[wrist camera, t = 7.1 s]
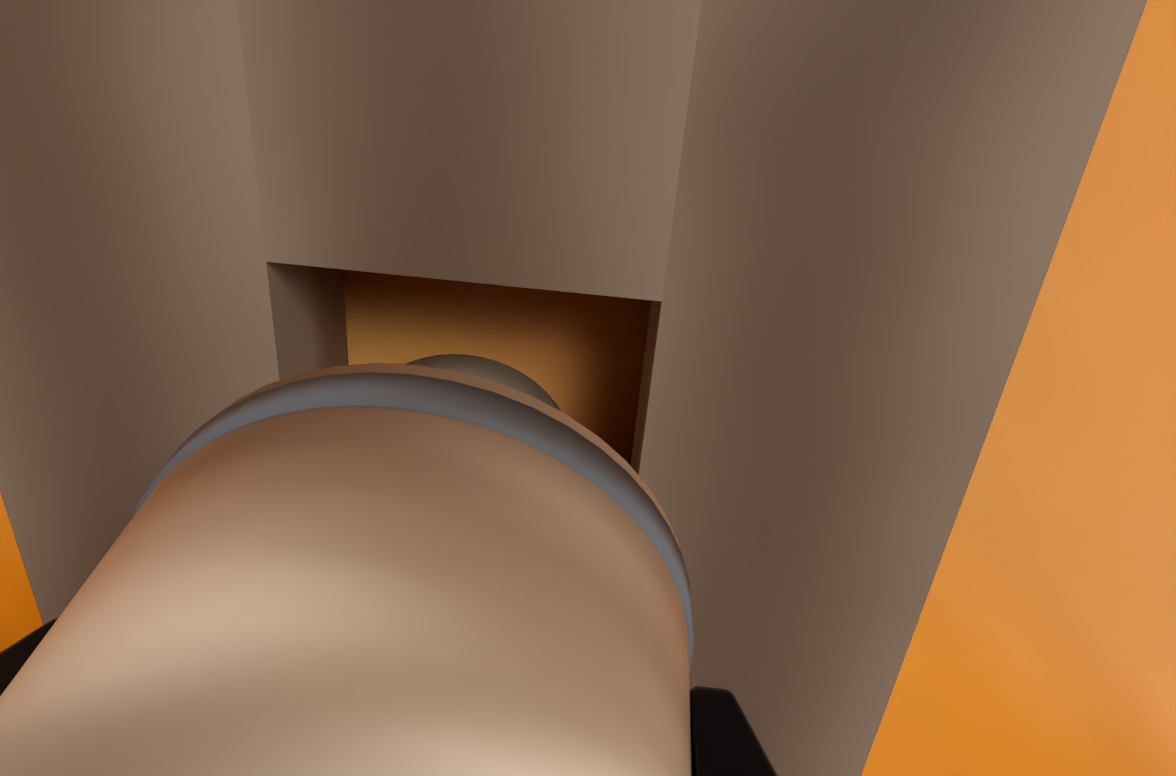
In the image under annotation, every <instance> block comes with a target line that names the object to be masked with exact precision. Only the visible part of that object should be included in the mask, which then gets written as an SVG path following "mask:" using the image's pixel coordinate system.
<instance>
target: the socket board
mask: <svg viewBox="0 0 1176 776" xmlns="http://www.w3.org/2000/svg"><path fill="white" fill-rule="evenodd" d="M1146 2H1147V0H0V492H1V495H2V498H3V501H4V505H5V508H6V511H7V514H8V517H9V520H10V523H11V526H12V529H13V532H14V535H15V539H16V542H17V545H18V548H19V551H20V554H21V557H22V560H23V563H24V566H25V570H26V573H27V576H28V579H29V582H30V585H31V588H32V591H33V594H34V597H35V600H36V604H37V607H38V610H39V613H40V616H41V619H42V622H43V625H44V624H45V623H47V622H49V621H51V620H53V619H56V618H59V617H60V615H61V614H62V612H63V611H64V610H65V608H66V607H67V606H68V604H69V603H70V602H71V600H72V599H73V598H74V596H75V595H76V594H77V592H78V591H79V590H80V588H81V587H82V585H83V584H84V583H85V581H86V580H87V579H88V577H89V576H90V575H91V573H92V572H93V571H94V569H95V568H96V567H97V565H98V564H99V563H100V561H101V560H102V558H103V557H104V556H105V554H106V553H107V552H108V550H109V549H110V548H111V546H112V545H113V544H114V542H115V541H116V540H117V538H118V537H119V536H120V534H121V533H122V531H123V530H124V529H125V527H126V526H127V525H128V523H129V522H130V520H131V518H132V516H133V513H134V511H135V509H136V506H137V504H138V503H139V501H140V500H141V498H142V497H143V495H144V494H145V492H146V491H147V489H148V488H149V487H150V485H151V484H152V482H153V481H154V479H155V478H156V477H157V475H158V474H159V473H160V471H161V470H162V469H163V467H164V466H165V465H166V463H167V462H168V461H169V459H170V458H171V457H172V455H173V454H174V453H175V451H176V450H177V449H178V448H179V447H180V446H181V445H182V444H183V443H184V442H185V441H186V440H187V439H188V438H189V437H190V436H191V435H192V434H193V433H194V432H195V431H196V430H197V429H198V428H199V427H200V426H202V425H203V424H205V423H206V422H207V421H209V420H210V419H211V418H212V417H214V416H215V415H217V414H218V413H219V412H221V411H222V410H224V409H225V408H226V407H228V406H229V405H231V404H232V403H233V402H235V401H236V400H238V399H240V398H242V397H243V396H245V395H247V394H249V393H251V392H253V391H255V390H257V389H259V388H261V387H263V386H265V385H267V384H270V383H273V382H276V381H279V380H282V379H285V378H288V377H291V376H294V375H297V374H300V373H304V372H310V371H315V370H320V369H325V368H330V367H335V366H345V365H348V352H347V337H346V322H345V307H344V292H343V278H342V269H344V270H354V271H364V272H374V273H384V274H394V275H404V276H414V277H424V278H434V279H444V280H454V281H463V282H473V283H483V284H493V285H503V286H513V287H523V288H533V289H543V290H553V291H563V292H573V293H583V294H593V295H603V296H613V297H623V298H633V299H643V300H651V304H650V312H649V320H648V328H647V336H646V344H645V352H644V360H643V368H642V376H641V384H640V392H639V399H638V407H637V415H636V423H635V431H634V439H633V447H632V455H631V463H630V466H631V467H632V468H633V469H634V471H635V472H636V473H637V474H638V475H639V476H640V478H641V479H642V480H643V481H644V482H645V483H646V484H647V486H648V487H649V488H650V490H651V492H652V493H653V495H654V496H655V498H656V499H657V501H658V502H659V504H660V505H661V507H662V509H663V510H664V512H665V513H666V515H667V518H668V520H669V522H670V524H671V527H672V529H673V531H674V533H675V535H676V538H677V540H678V543H679V547H680V551H681V553H682V555H683V559H684V562H685V566H686V570H687V574H688V578H689V581H690V588H691V600H692V615H693V645H694V646H693V656H692V665H691V673H690V690H691V689H692V688H693V687H696V686H703V687H712V688H721V689H726V690H729V691H730V692H732V693H733V695H734V696H735V698H736V699H737V701H738V703H739V705H740V707H741V709H742V710H743V712H744V714H745V716H746V718H747V720H748V721H749V723H750V725H751V727H752V729H753V731H754V732H755V734H756V736H757V738H758V740H759V742H760V743H761V745H762V747H763V749H764V751H765V753H766V755H767V756H768V758H769V760H770V762H771V764H772V766H773V767H774V769H775V771H776V773H777V775H778V776H861V774H862V771H863V768H864V766H865V763H866V760H867V757H868V755H869V752H870V749H871V747H872V744H873V741H874V738H875V736H876V733H877V730H878V728H879V725H880V722H881V720H882V717H883V714H884V711H885V709H886V706H887V703H888V701H889V698H890V695H891V692H892V690H893V687H894V684H895V682H896V679H897V676H898V674H899V671H900V668H901V665H902V663H903V660H904V657H905V655H906V652H907V649H908V646H909V644H910V641H911V638H912V636H913V633H914V630H915V628H916V625H917V622H918V619H919V617H920V614H921V611H922V609H923V606H924V603H925V600H926V598H927V595H928V592H929V590H930V587H931V584H932V581H933V579H934V576H935V573H936V571H937V568H938V565H939V563H940V560H941V557H942V554H943V552H944V549H945V546H946V544H947V541H948V538H949V535H950V533H951V530H952V527H953V525H954V522H955V519H956V517H957V514H958V511H959V508H960V506H961V503H962V500H963V498H964V495H965V492H966V489H967V487H968V484H969V481H970V479H971V476H972V473H973V471H974V468H975V465H976V462H977V460H978V457H979V454H980V452H981V449H982V446H983V443H984V441H985V438H986V435H987V433H988V430H989V427H990V424H991V422H992V419H993V416H994V414H995V411H996V408H997V406H998V403H999V400H1000V397H1001V395H1002V392H1003V389H1004V387H1005V384H1006V381H1007V378H1008V376H1009V373H1010V370H1011V368H1012V365H1013V362H1014V360H1015V357H1016V354H1017V351H1018V349H1019V346H1020V343H1021V341H1022V338H1023V335H1024V332H1025V330H1026V327H1027V324H1028V322H1029V319H1030V316H1031V314H1032V311H1033V308H1034V305H1035V303H1036V300H1037V297H1038V295H1039V292H1040V289H1041V286H1042V284H1043V281H1044V278H1045V276H1046V273H1047V270H1048V267H1049V265H1050V262H1051V259H1052V257H1053V254H1054V251H1055V249H1056V246H1057V243H1058V240H1059V238H1060V235H1061V232H1062V230H1063V227H1064V224H1065V221H1066V219H1067V216H1068V213H1069V211H1070V208H1071V205H1072V203H1073V200H1074V197H1075V194H1076V192H1077V189H1078V186H1079V184H1080V181H1081V178H1082V175H1083V173H1084V170H1085V167H1086V165H1087V162H1088V159H1089V157H1090V154H1091V151H1092V148H1093V146H1094V143H1095V140H1096V138H1097V135H1098V132H1099V129H1100V127H1101V124H1102V121H1103V119H1104V116H1105V113H1106V110H1107V108H1108V105H1109V102H1110V100H1111V97H1112V94H1113V92H1114V89H1115V86H1116V83H1117V81H1118V78H1119V75H1120V73H1121V70H1122V67H1123V64H1124V62H1125V59H1126V56H1127V54H1128V51H1129V48H1130V46H1131V43H1132V40H1133V37H1134V35H1135V32H1136V29H1137V27H1138V24H1139V21H1140V18H1141V16H1142V13H1143V10H1144V8H1145V5H1146Z"/></svg>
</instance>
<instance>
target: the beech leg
mask: <svg viewBox="0 0 1176 776" xmlns="http://www.w3.org/2000/svg"><path fill="white" fill-rule="evenodd" d="M693 646H694V645H693V615H692V600H691V588H690V581H689V578H688V574H687V570H686V566H685V562H684V559H683V555H682V553H681V551H680V547H679V543H678V540H677V538H676V535H675V533H674V531H673V529H672V527H671V524H670V522H669V520H668V518H667V515H666V513H665V512H664V510H663V509H662V507H661V505H660V504H659V502H658V501H657V499H656V498H655V496H654V495H653V493H652V492H651V490H650V488H649V487H648V486H647V484H646V483H645V482H644V481H643V480H642V479H641V478H640V476H639V475H638V474H637V473H636V472H635V471H634V469H633V468H632V467H631V466H630V465H629V464H628V463H627V461H626V460H624V459H623V458H622V457H621V456H620V455H619V454H618V453H617V452H616V451H614V450H613V449H612V448H611V447H610V446H609V445H608V444H607V443H605V442H604V441H603V440H602V439H601V438H600V437H598V436H597V435H596V434H594V433H593V432H591V431H590V430H588V429H587V428H585V427H584V426H583V425H581V424H580V423H578V422H577V421H575V420H574V419H572V418H571V417H570V416H568V415H566V414H564V413H562V412H561V410H560V409H559V407H558V406H557V404H556V403H555V401H554V400H553V399H552V398H551V397H550V396H549V395H548V393H547V392H546V391H545V390H544V389H542V388H541V387H540V386H539V385H538V384H537V383H536V382H534V381H533V380H531V379H530V378H529V377H527V376H526V375H524V374H523V373H521V372H519V371H517V370H515V369H513V368H511V367H509V366H507V365H504V364H502V363H499V362H497V361H494V360H490V359H486V358H483V357H477V356H471V355H459V354H447V355H436V356H430V357H425V358H421V359H418V360H415V361H412V362H409V363H407V364H405V365H403V364H381V363H374V364H359V365H345V366H335V367H330V368H325V369H320V370H315V371H310V372H304V373H300V374H297V375H294V376H291V377H288V378H285V379H282V380H279V381H276V382H273V383H270V384H267V385H265V386H263V387H261V388H259V389H257V390H255V391H253V392H251V393H249V394H247V395H245V396H243V397H242V398H240V399H238V400H236V401H235V402H233V403H232V404H231V405H229V406H228V407H226V408H225V409H224V410H222V411H221V412H219V413H218V414H217V415H215V416H214V417H212V418H211V419H210V420H209V421H207V422H206V423H205V424H203V425H202V426H200V427H199V428H198V429H197V430H196V431H195V432H194V433H193V434H192V435H191V436H190V437H189V438H188V439H187V440H186V441H185V442H184V443H183V444H182V445H181V446H180V447H179V448H178V449H177V450H176V451H175V453H174V454H173V455H172V457H171V458H170V459H169V461H168V462H167V463H166V465H165V466H164V467H163V469H162V470H161V471H160V473H159V474H158V475H157V477H156V478H155V479H154V481H153V482H152V484H151V485H150V487H149V488H148V489H147V491H146V492H145V494H144V495H143V497H142V498H141V500H140V501H139V503H138V504H137V506H136V509H135V511H134V513H133V516H132V518H131V520H130V522H129V523H128V525H127V526H126V527H125V529H124V530H123V531H122V533H121V534H120V536H119V537H118V538H117V540H116V541H115V542H114V544H113V545H112V546H111V548H110V549H109V550H108V552H107V553H106V554H105V556H104V557H103V558H102V560H101V561H100V563H99V564H98V565H97V567H96V568H95V569H94V571H93V572H92V573H91V575H90V576H89V577H88V579H87V580H86V581H85V583H84V584H83V585H82V587H81V588H80V590H79V591H78V592H77V594H76V595H75V596H74V598H73V599H72V600H71V602H70V603H69V604H68V606H67V607H66V608H65V610H64V611H63V612H62V614H61V615H60V617H59V618H58V619H57V621H56V622H55V623H54V625H53V626H52V627H51V629H50V630H49V631H48V633H47V634H46V635H45V637H44V638H43V639H42V641H41V642H40V644H39V645H38V646H37V648H36V649H35V650H34V652H33V653H32V654H31V656H30V657H29V658H28V660H27V661H26V662H25V664H24V665H23V666H22V668H21V669H20V671H19V672H18V673H17V675H16V676H15V677H14V679H13V680H12V681H11V683H10V684H9V685H8V687H7V688H6V689H5V691H4V692H3V693H2V695H1V696H0V776H692V750H691V713H690V673H691V665H692V656H693Z"/></svg>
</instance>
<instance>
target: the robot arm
mask: <svg viewBox="0 0 1176 776" xmlns="http://www.w3.org/2000/svg"><path fill="white" fill-rule="evenodd" d="M57 619H58V618H56V619H53V620H51V621H49V622H47V623H45V624H44V625H42V626H41V627H39V628H38V629H36V630H35V631H33V632H32V633H30V634H28V635H27V636H25V637H24V638H22V639H21V640H19V641H18V642H16V643H14V644H13V645H11V646H10V647H8V648H7V649H5V650H4V651H2V652H1V653H0V696H1V695H2V693H3V692H4V691H5V689H6V688H7V687H8V685H9V684H10V683H11V681H12V680H13V679H14V677H15V676H16V675H17V673H18V672H19V671H20V669H21V668H22V666H23V665H24V664H25V662H26V661H27V660H28V658H29V657H30V656H31V654H32V653H33V652H34V650H35V649H36V648H37V646H38V645H39V644H40V642H41V641H42V639H43V638H44V637H45V635H46V634H47V633H48V631H49V630H50V629H51V627H52V626H53V625H54V623H55V622H56V621H57ZM690 713H691V750H692V776H778V775H777V773H776V771H775V769H774V767H773V766H772V764H771V762H770V760H769V758H768V756H767V755H766V753H765V751H764V749H763V747H762V745H761V743H760V742H759V740H758V738H757V736H756V734H755V732H754V731H753V729H752V727H751V725H750V723H749V721H748V720H747V718H746V716H745V714H744V712H743V710H742V709H741V707H740V705H739V703H738V701H737V699H736V698H735V696H734V695H733V693H732V692H730V691H729V690H726V689H721V688H712V687H703V686H696V687H693V688H692V689H691V690H690Z"/></svg>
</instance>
